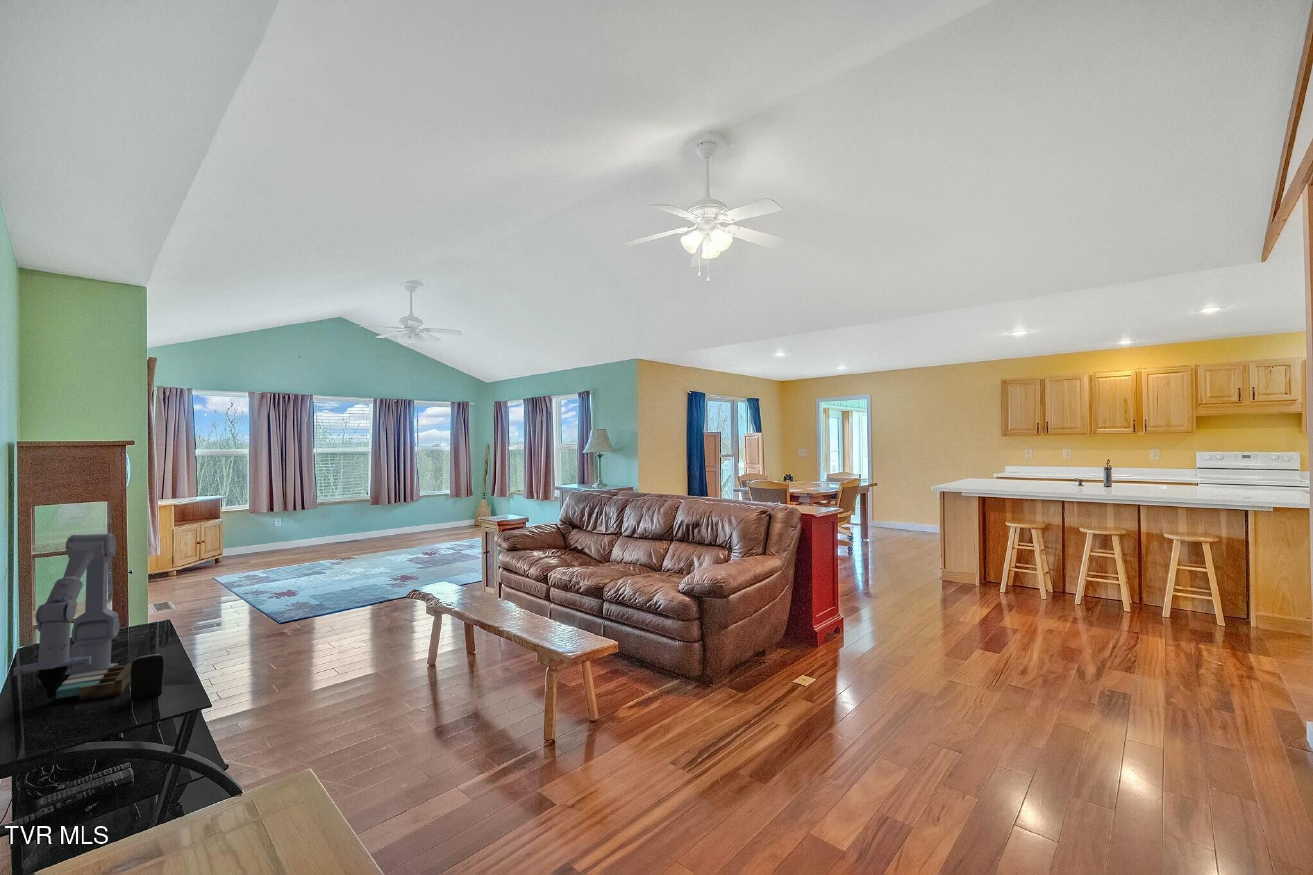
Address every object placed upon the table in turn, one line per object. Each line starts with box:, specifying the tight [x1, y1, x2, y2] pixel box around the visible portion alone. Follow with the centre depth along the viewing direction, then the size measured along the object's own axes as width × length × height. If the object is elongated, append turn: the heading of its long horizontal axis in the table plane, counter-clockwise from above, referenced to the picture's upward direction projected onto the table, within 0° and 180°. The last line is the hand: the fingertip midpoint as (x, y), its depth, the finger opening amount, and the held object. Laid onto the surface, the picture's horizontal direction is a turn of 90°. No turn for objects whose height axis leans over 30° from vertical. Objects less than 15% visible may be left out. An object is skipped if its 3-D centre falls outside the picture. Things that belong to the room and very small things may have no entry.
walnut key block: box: [78, 662, 132, 701], centre depth 163 cm, size 8×16×4 cm, turn 34°
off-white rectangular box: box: [60, 675, 104, 686], centre depth 160 cm, size 8×3×2 cm, turn 124°
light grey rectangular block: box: [66, 670, 108, 680], centre depth 164 cm, size 8×3×2 cm, turn 124°
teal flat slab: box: [55, 680, 100, 699], centre depth 156 cm, size 8×3×2 cm, turn 124°
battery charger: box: [129, 652, 165, 701], centre depth 158 cm, size 7×4×11 cm, turn 133°
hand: (52, 696), depth 153 cm, fingers closed
